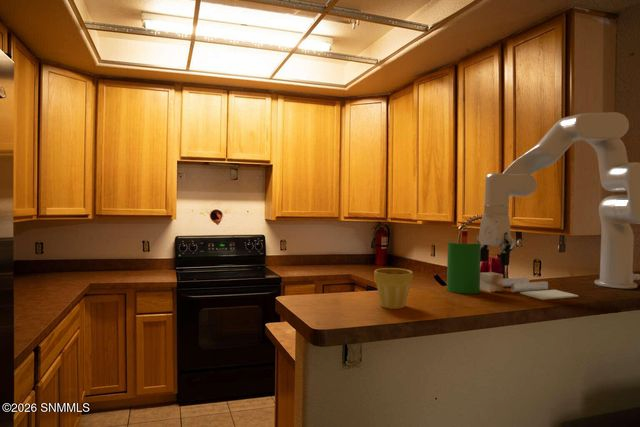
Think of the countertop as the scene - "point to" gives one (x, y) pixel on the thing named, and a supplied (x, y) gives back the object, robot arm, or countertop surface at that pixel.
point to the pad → (548, 294)
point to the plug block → (491, 281)
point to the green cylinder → (463, 266)
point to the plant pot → (393, 286)
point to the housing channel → (524, 284)
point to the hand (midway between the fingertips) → (493, 263)
